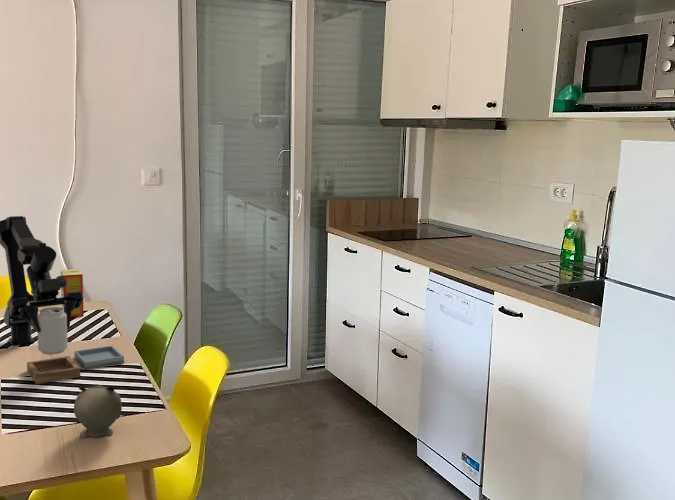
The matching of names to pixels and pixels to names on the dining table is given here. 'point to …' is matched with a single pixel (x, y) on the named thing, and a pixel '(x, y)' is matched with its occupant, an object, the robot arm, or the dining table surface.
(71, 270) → the baking soda box
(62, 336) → the can
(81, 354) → the tray
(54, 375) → the holder collar
